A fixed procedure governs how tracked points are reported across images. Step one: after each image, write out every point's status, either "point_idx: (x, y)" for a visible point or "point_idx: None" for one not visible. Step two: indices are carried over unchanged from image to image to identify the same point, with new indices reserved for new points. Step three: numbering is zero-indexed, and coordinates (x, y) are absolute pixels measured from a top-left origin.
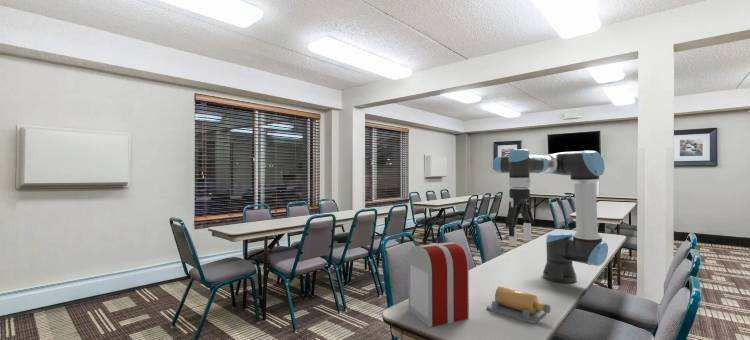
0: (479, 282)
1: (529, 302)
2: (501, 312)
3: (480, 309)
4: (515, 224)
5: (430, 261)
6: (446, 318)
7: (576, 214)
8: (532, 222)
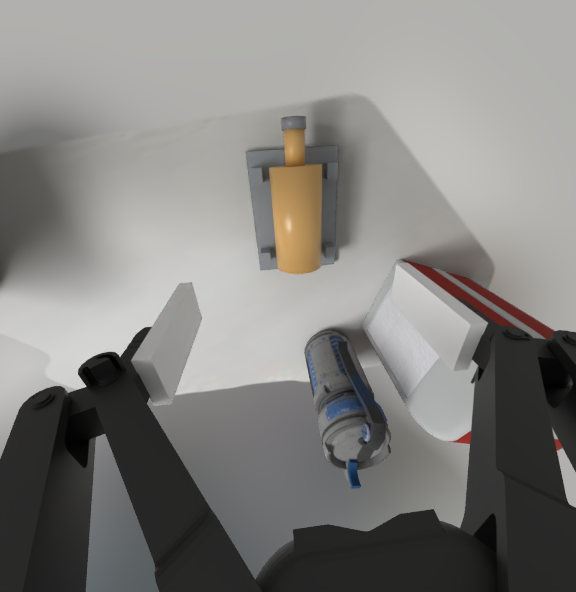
0: (202, 353)
1: (321, 170)
2: (334, 228)
3: (341, 269)
4: (506, 348)
5: None
6: (451, 275)
7: None
8: (109, 359)
